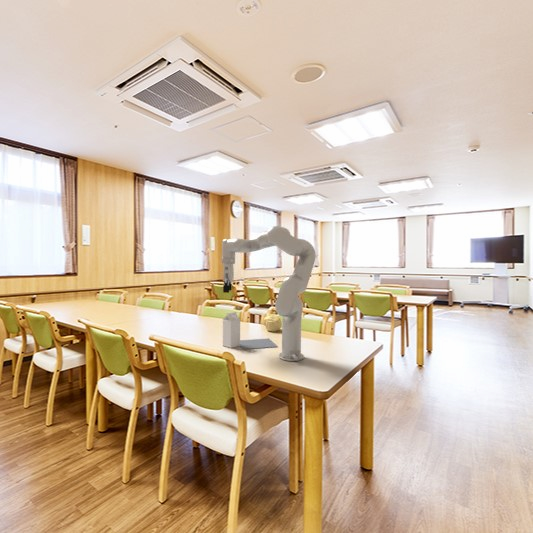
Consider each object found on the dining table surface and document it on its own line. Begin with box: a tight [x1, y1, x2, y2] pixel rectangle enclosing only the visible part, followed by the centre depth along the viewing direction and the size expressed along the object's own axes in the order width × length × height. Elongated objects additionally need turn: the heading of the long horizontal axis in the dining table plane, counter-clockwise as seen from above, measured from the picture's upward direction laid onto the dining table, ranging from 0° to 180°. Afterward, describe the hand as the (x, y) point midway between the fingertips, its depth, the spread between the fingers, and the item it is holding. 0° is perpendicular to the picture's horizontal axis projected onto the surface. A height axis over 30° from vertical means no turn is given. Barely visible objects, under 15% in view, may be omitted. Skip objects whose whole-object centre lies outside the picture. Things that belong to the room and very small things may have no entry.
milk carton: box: [222, 311, 241, 349], centre depth 174 cm, size 7×7×19 cm
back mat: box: [239, 337, 278, 350], centre depth 179 cm, size 18×20×1 cm
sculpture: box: [263, 315, 282, 333], centre depth 213 cm, size 12×12×11 cm
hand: (227, 291), depth 173 cm, fingers open, 9 cm apart
